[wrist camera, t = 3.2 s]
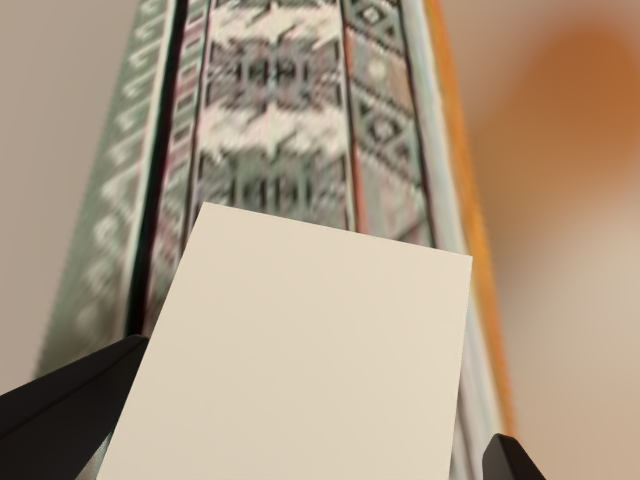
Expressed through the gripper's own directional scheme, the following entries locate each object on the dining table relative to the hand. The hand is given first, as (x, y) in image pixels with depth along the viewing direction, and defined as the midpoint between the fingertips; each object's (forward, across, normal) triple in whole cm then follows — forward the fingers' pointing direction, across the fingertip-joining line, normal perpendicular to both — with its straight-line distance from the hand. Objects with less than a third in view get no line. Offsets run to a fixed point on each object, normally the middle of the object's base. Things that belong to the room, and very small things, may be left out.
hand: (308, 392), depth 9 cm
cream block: (+6, 0, +6) cm, 8 cm away
